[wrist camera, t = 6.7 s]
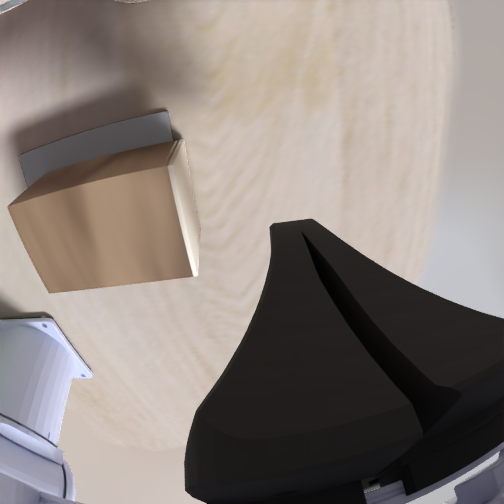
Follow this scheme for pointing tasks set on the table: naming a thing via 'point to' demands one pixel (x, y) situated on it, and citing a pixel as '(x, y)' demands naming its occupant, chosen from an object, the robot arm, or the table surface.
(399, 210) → the table surface
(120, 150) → the mat
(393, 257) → the table surface
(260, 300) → the robot arm
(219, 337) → the table surface
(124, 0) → the cup with straw
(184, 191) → the walnut block
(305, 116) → the table surface
